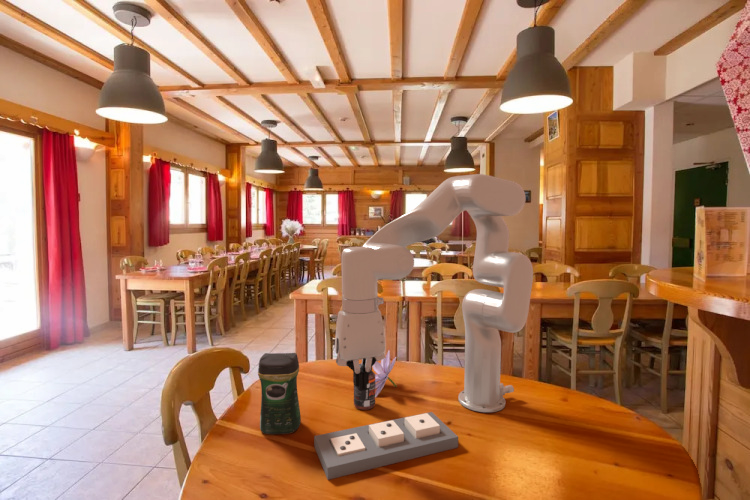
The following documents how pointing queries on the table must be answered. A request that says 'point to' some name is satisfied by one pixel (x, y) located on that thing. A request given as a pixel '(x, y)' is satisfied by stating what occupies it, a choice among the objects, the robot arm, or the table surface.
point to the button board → (380, 449)
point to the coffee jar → (279, 393)
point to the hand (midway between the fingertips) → (361, 388)
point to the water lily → (383, 372)
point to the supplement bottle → (365, 394)
